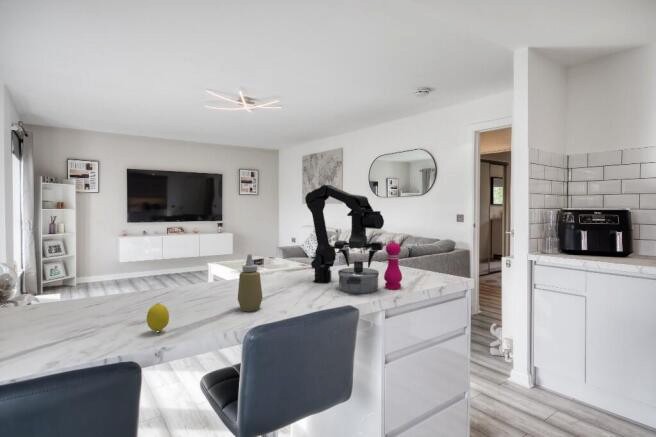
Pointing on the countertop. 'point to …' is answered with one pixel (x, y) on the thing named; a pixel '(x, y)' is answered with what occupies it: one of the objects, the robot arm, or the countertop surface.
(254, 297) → the squeeze bottle
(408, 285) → the countertop surface
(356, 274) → the lid
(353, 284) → the pot
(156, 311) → the lemon
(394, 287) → the pepper mill
